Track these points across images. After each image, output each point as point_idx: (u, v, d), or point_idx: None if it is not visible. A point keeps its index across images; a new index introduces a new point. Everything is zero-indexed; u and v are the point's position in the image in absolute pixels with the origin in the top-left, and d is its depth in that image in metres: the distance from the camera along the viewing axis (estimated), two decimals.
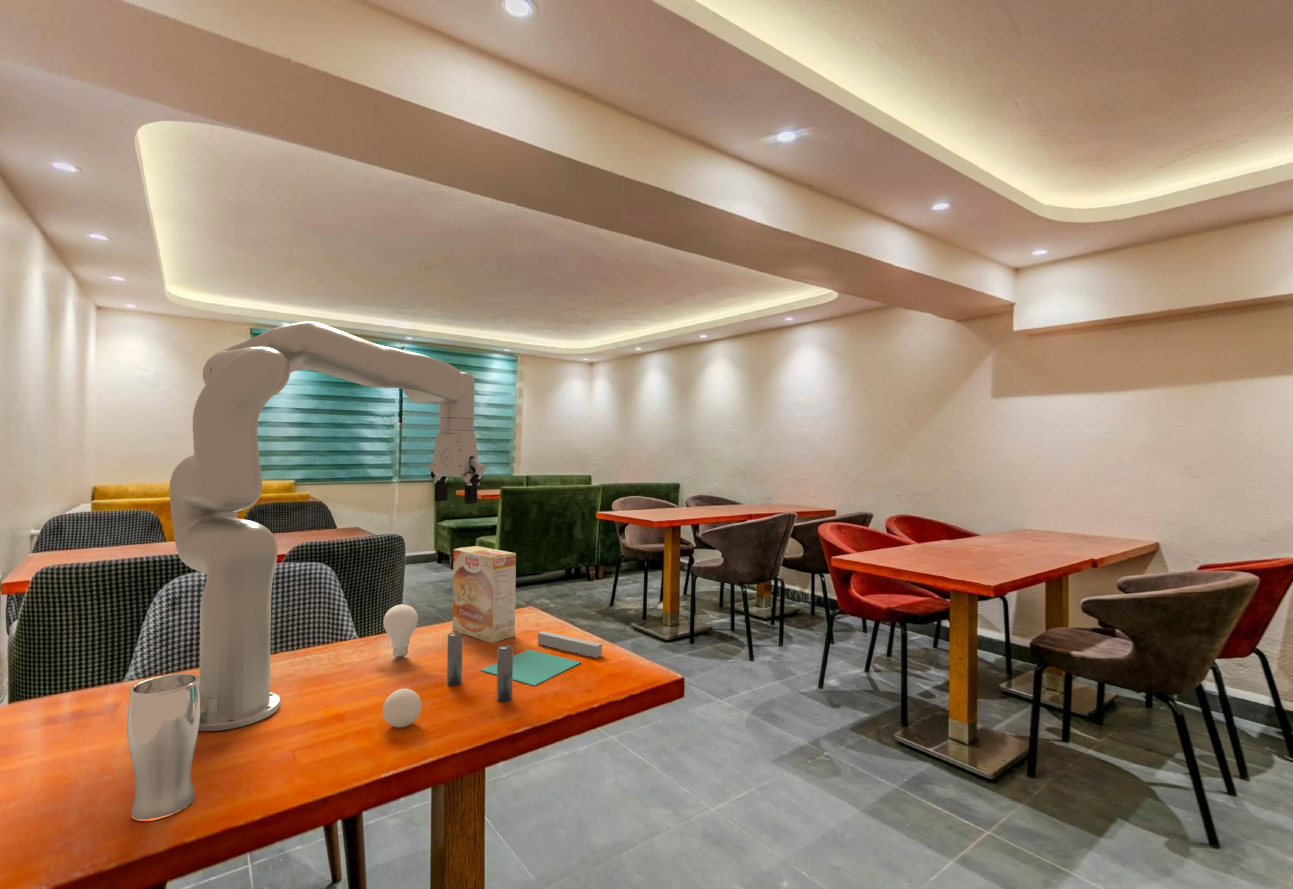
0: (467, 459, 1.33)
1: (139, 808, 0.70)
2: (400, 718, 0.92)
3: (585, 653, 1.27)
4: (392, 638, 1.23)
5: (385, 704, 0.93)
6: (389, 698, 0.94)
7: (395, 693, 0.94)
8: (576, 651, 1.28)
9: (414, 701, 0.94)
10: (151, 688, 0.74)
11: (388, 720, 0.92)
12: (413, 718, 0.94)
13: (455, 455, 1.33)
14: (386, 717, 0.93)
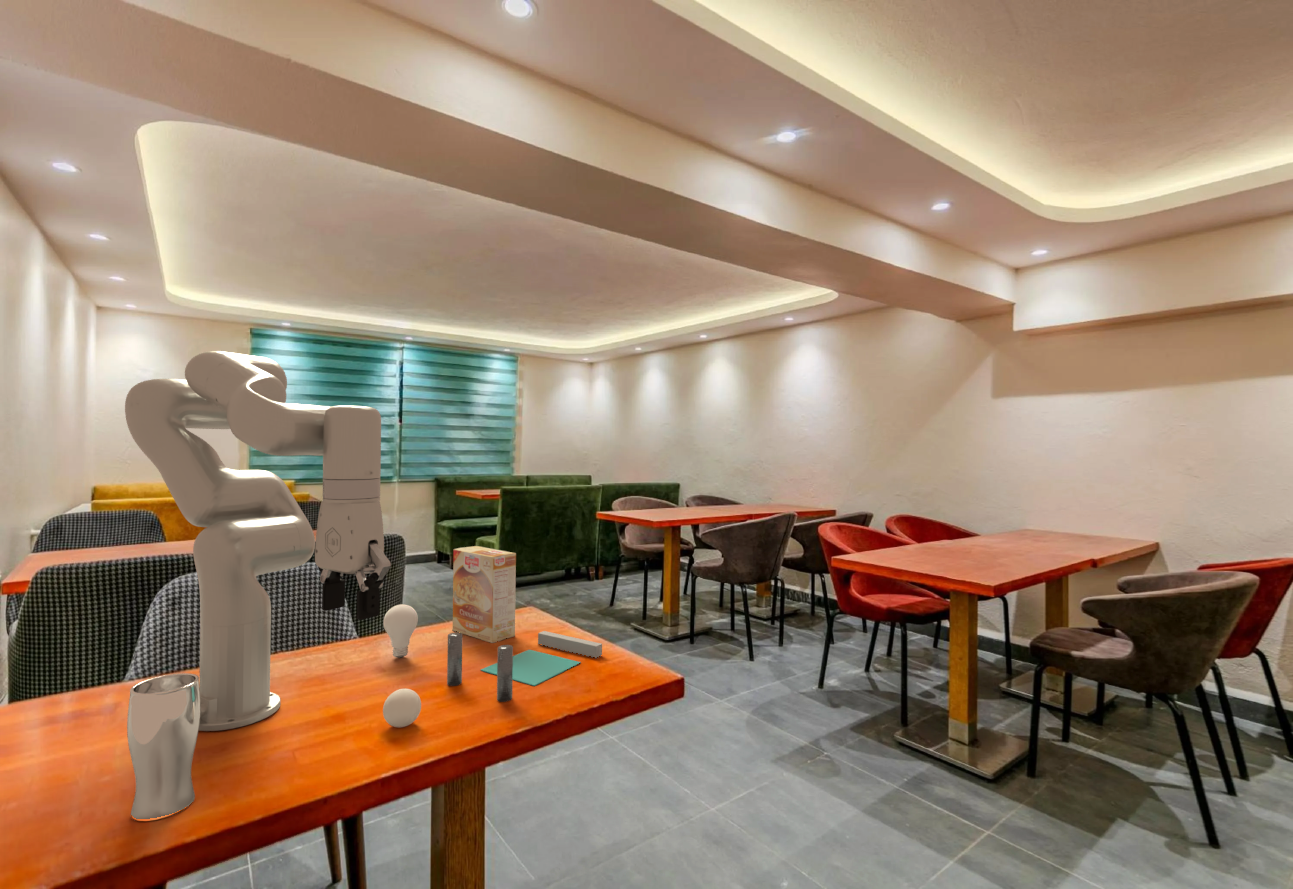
0: (364, 546, 0.83)
1: (139, 808, 0.70)
2: (400, 718, 0.92)
3: (585, 653, 1.27)
4: (392, 638, 1.23)
5: (385, 704, 0.93)
6: (389, 698, 0.94)
7: (395, 693, 0.94)
8: (576, 651, 1.28)
9: (414, 701, 0.94)
10: (151, 688, 0.74)
11: (388, 720, 0.92)
12: (413, 718, 0.94)
13: (345, 539, 0.83)
14: (386, 717, 0.93)
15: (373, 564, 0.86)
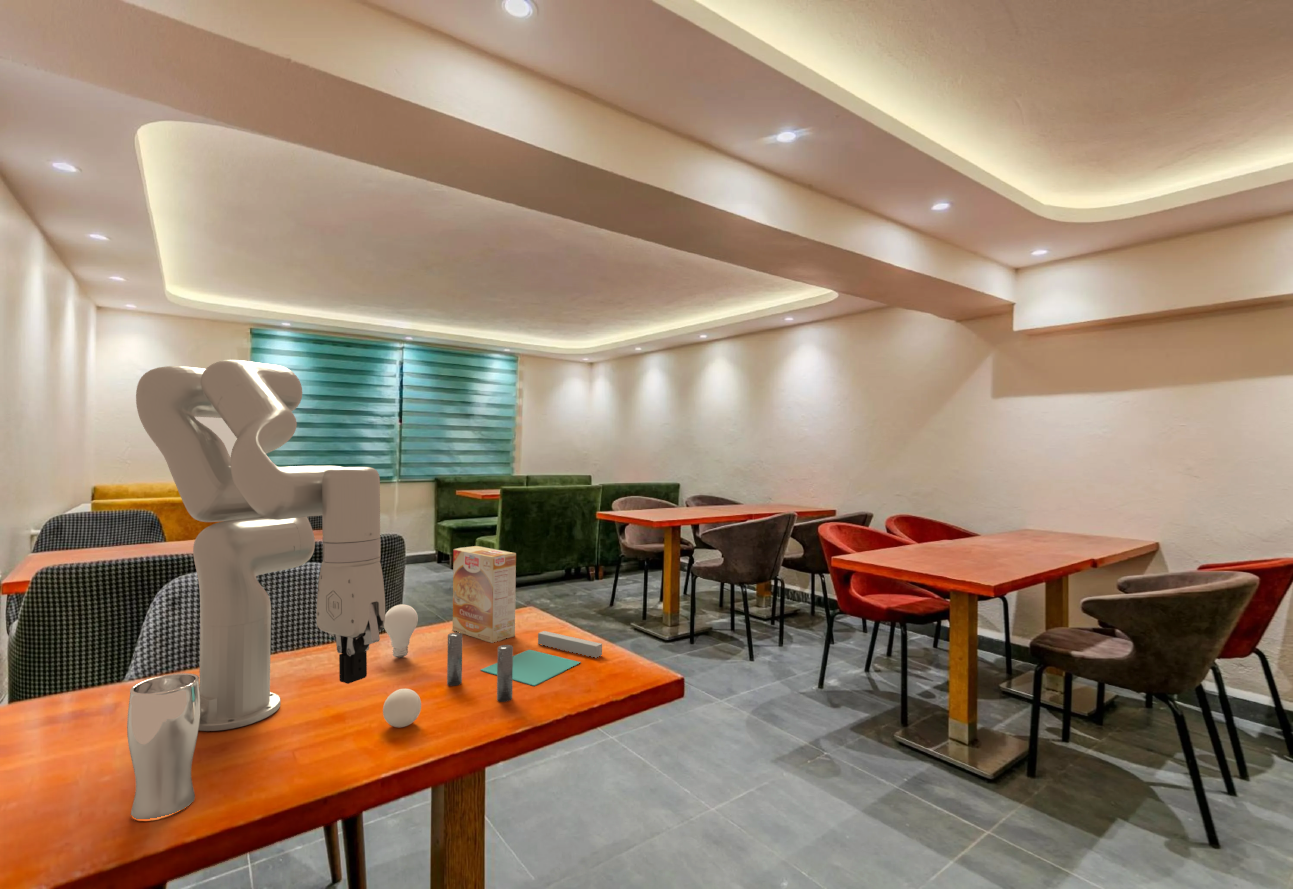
0: (365, 609, 0.83)
1: (139, 808, 0.70)
2: (400, 718, 0.92)
3: (585, 653, 1.27)
4: (392, 638, 1.23)
5: (385, 704, 0.93)
6: (389, 698, 0.94)
7: (395, 693, 0.94)
8: (576, 651, 1.28)
9: (414, 701, 0.94)
10: (151, 688, 0.74)
11: (388, 720, 0.92)
12: (413, 718, 0.94)
13: (346, 603, 0.83)
14: (386, 717, 0.93)
15: None
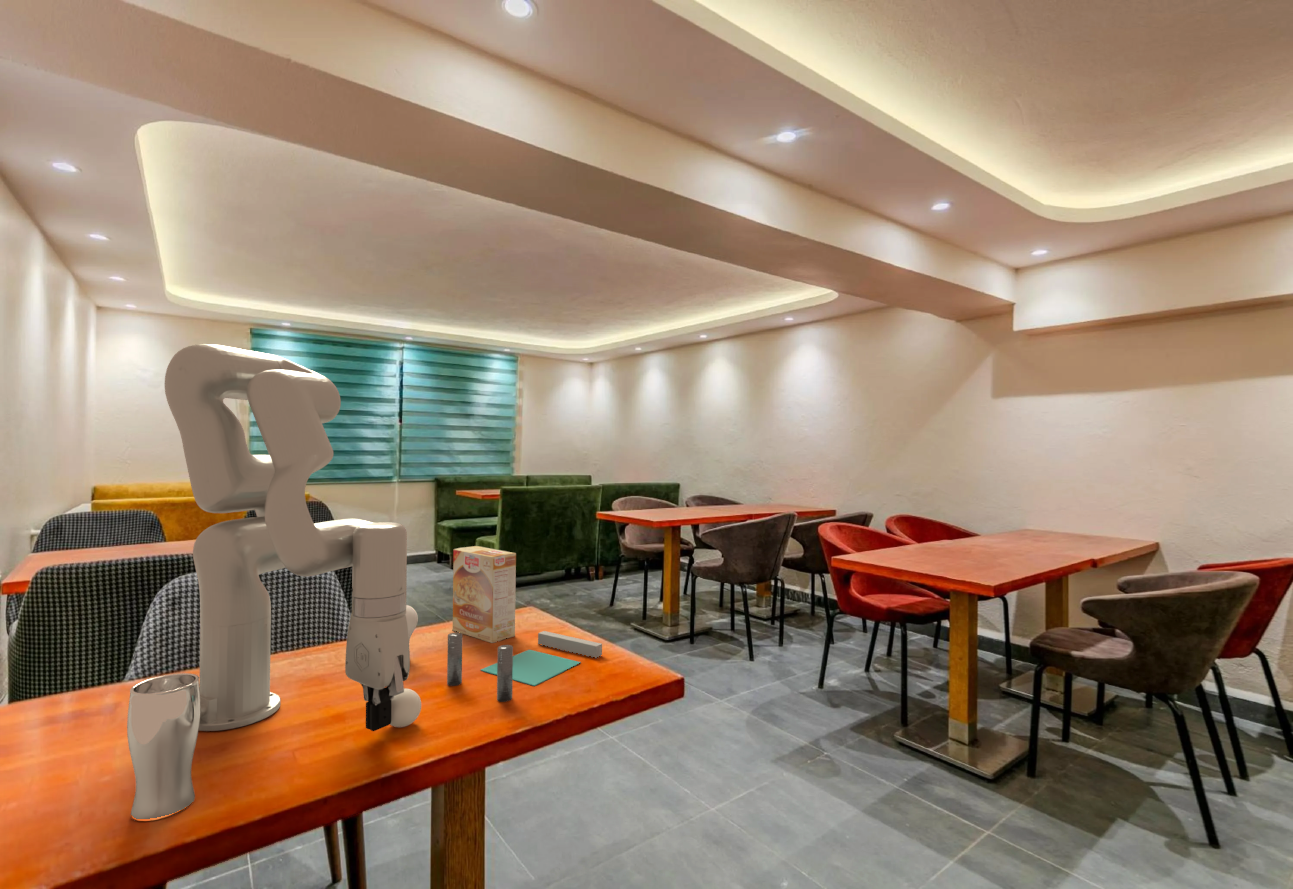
0: (391, 662, 0.87)
1: (139, 808, 0.70)
2: (400, 718, 0.92)
3: (585, 653, 1.27)
4: None
5: None
6: None
7: None
8: (576, 651, 1.28)
9: (415, 701, 0.94)
10: (151, 688, 0.74)
11: None
12: (413, 718, 0.94)
13: (373, 656, 0.87)
14: None
15: None
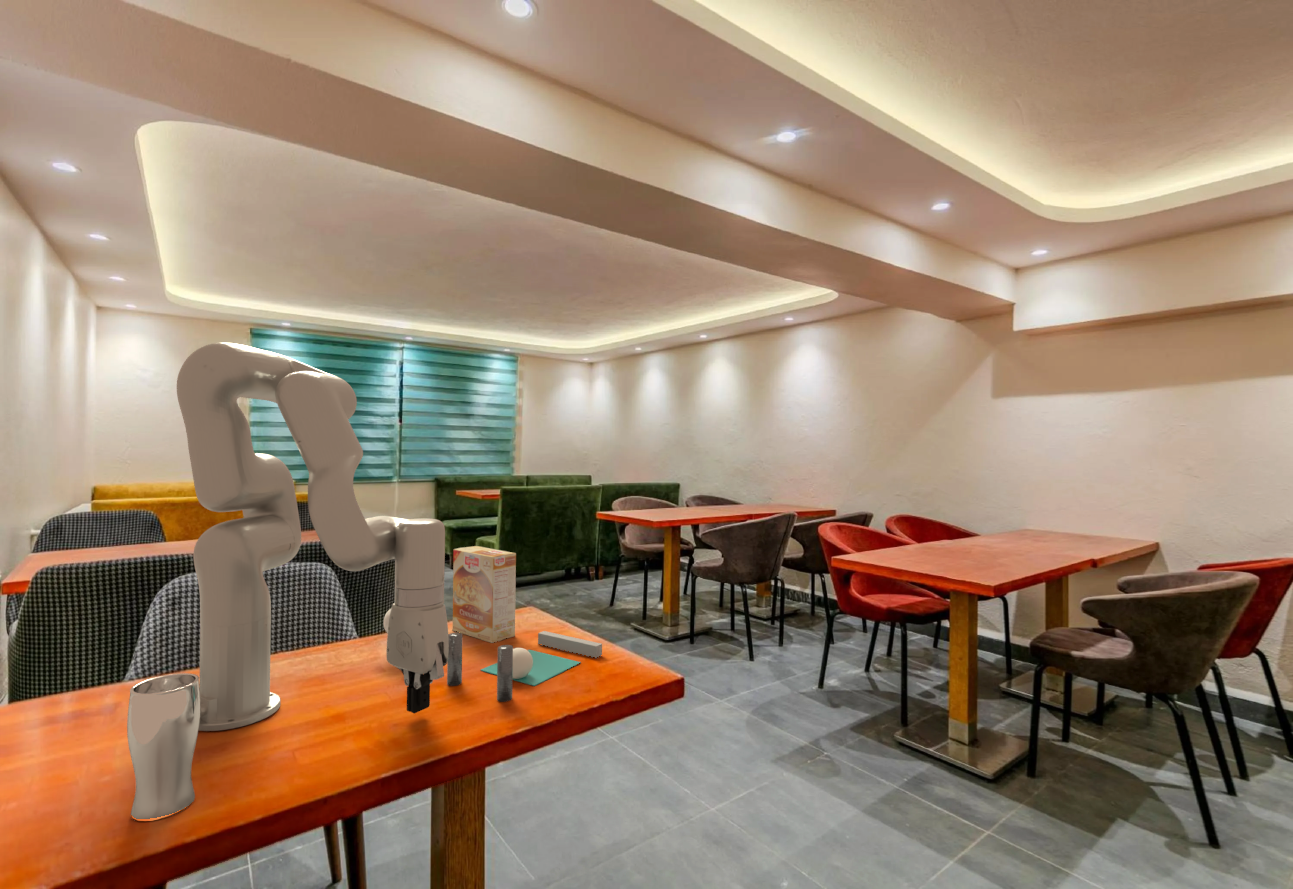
0: (433, 649, 0.94)
1: (139, 808, 0.70)
2: (527, 655, 1.14)
3: (585, 653, 1.27)
4: None
5: None
6: None
7: None
8: (576, 651, 1.28)
9: (529, 671, 1.14)
10: (151, 688, 0.74)
11: (521, 648, 1.15)
12: (522, 666, 1.12)
13: (416, 643, 0.94)
14: (522, 648, 1.15)
15: None
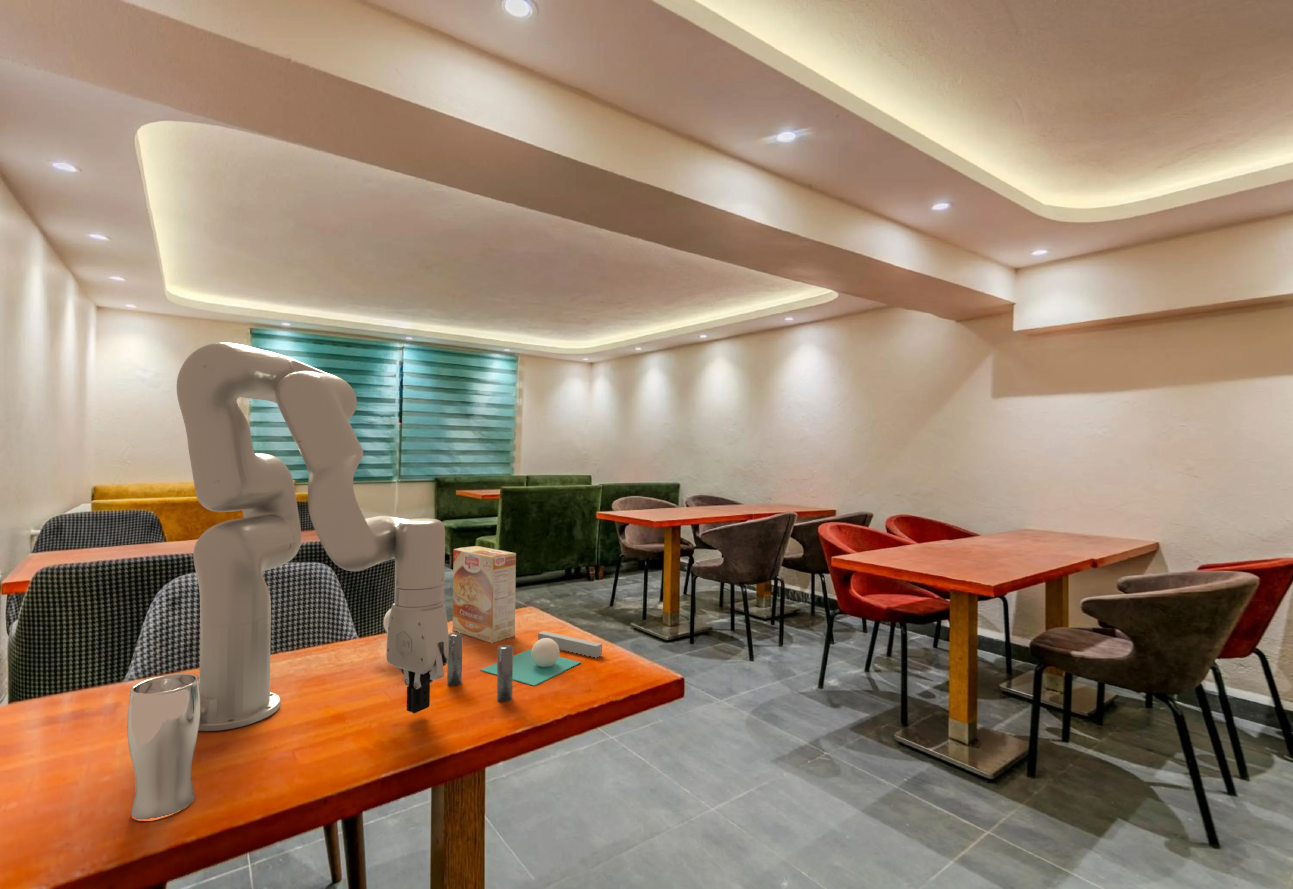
0: (433, 649, 0.94)
1: (139, 808, 0.70)
2: (554, 662, 1.20)
3: (585, 653, 1.27)
4: None
5: None
6: (536, 664, 1.19)
7: (535, 661, 1.19)
8: (576, 651, 1.28)
9: (549, 653, 1.18)
10: (151, 688, 0.74)
11: None
12: (558, 652, 1.20)
13: (416, 643, 0.94)
14: None
15: None
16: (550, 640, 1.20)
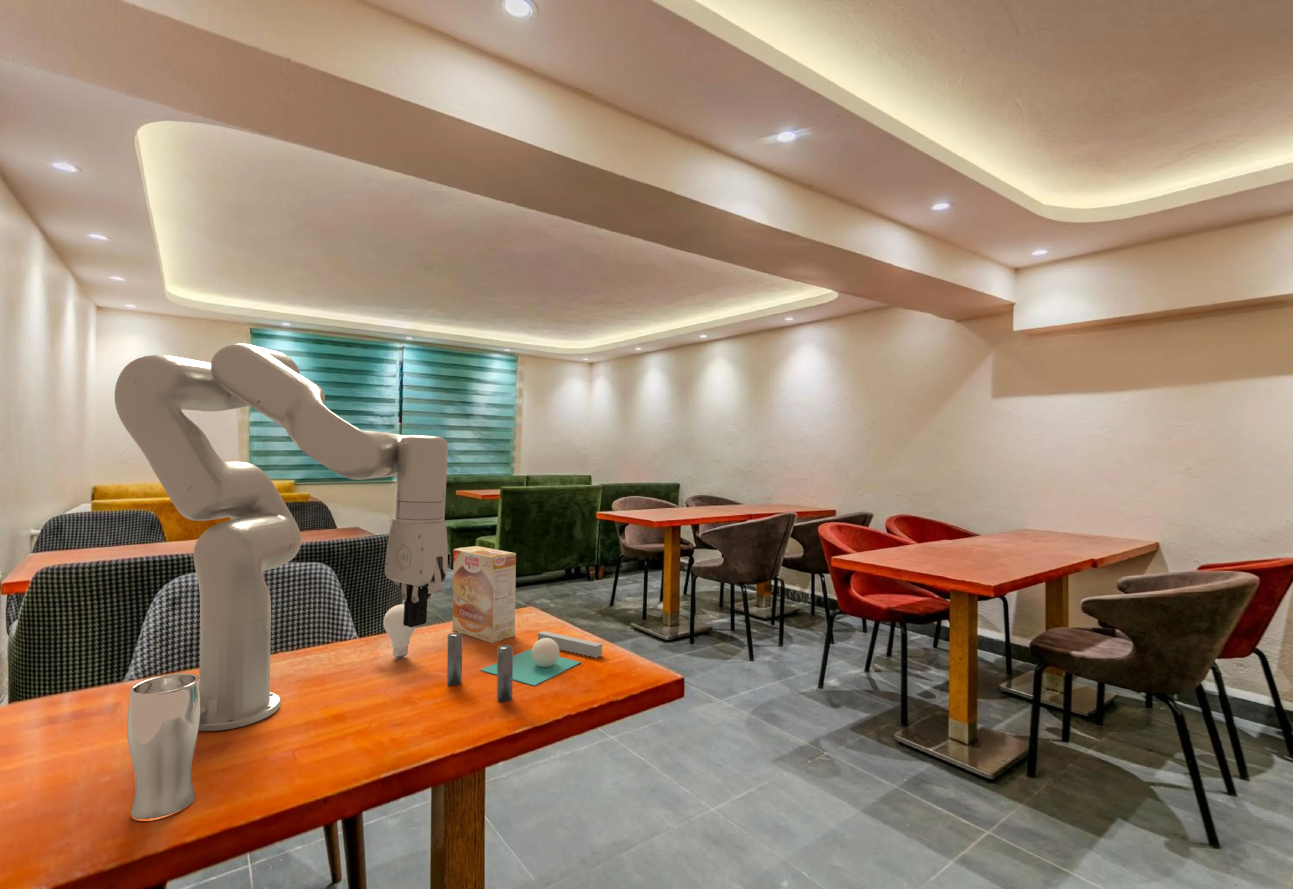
0: (432, 562, 0.94)
1: (139, 808, 0.70)
2: (554, 662, 1.20)
3: (585, 653, 1.27)
4: (392, 638, 1.23)
5: None
6: (536, 664, 1.19)
7: (535, 661, 1.19)
8: (576, 651, 1.28)
9: (549, 653, 1.18)
10: (151, 688, 0.74)
11: None
12: (558, 652, 1.20)
13: (415, 555, 0.94)
14: None
15: None
16: (550, 640, 1.20)
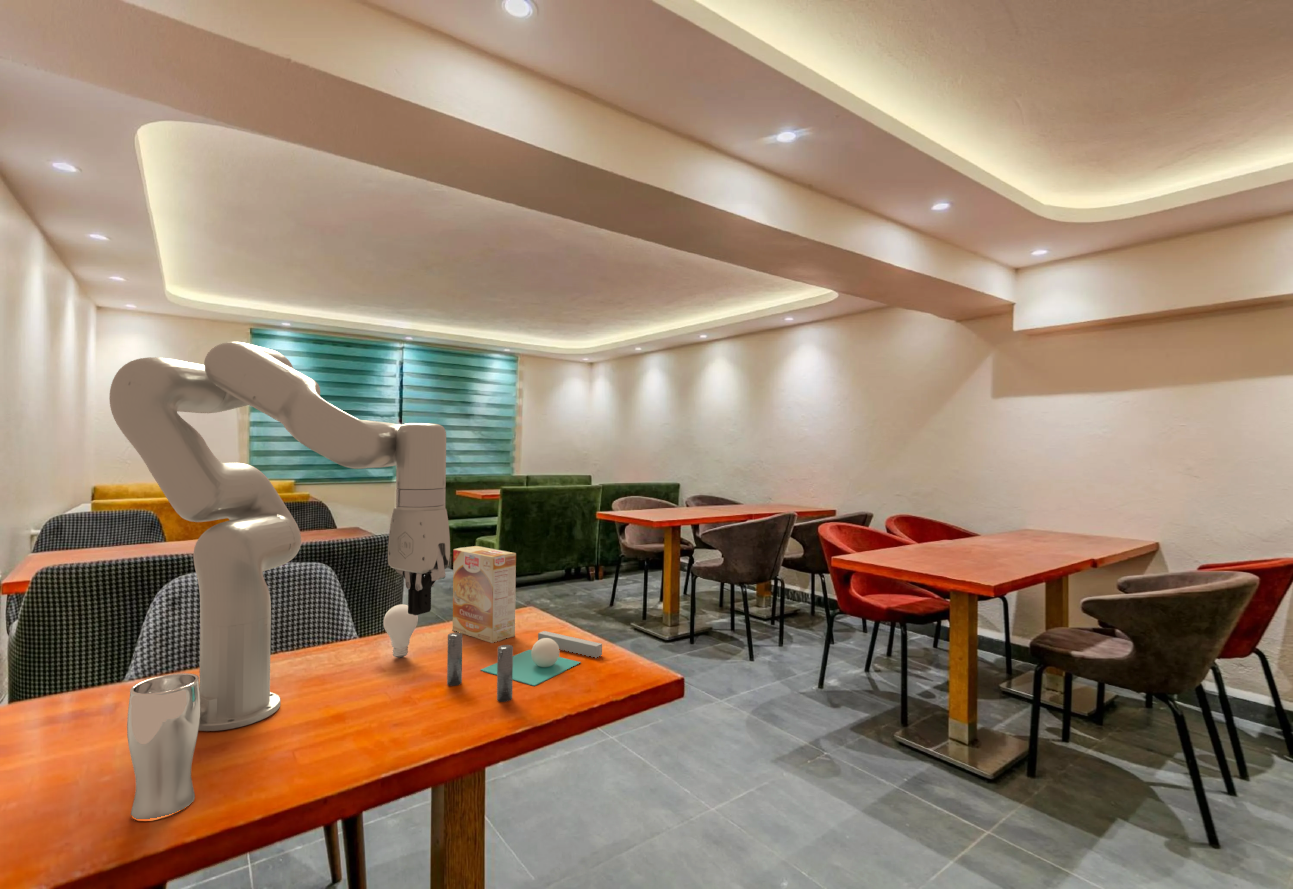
0: (434, 548, 0.94)
1: (139, 808, 0.70)
2: (554, 662, 1.20)
3: (585, 653, 1.27)
4: (392, 638, 1.23)
5: None
6: (536, 664, 1.19)
7: (535, 661, 1.19)
8: (576, 651, 1.28)
9: (549, 653, 1.18)
10: (151, 688, 0.74)
11: None
12: (558, 652, 1.20)
13: (417, 543, 0.94)
14: None
15: None
16: (550, 640, 1.20)
